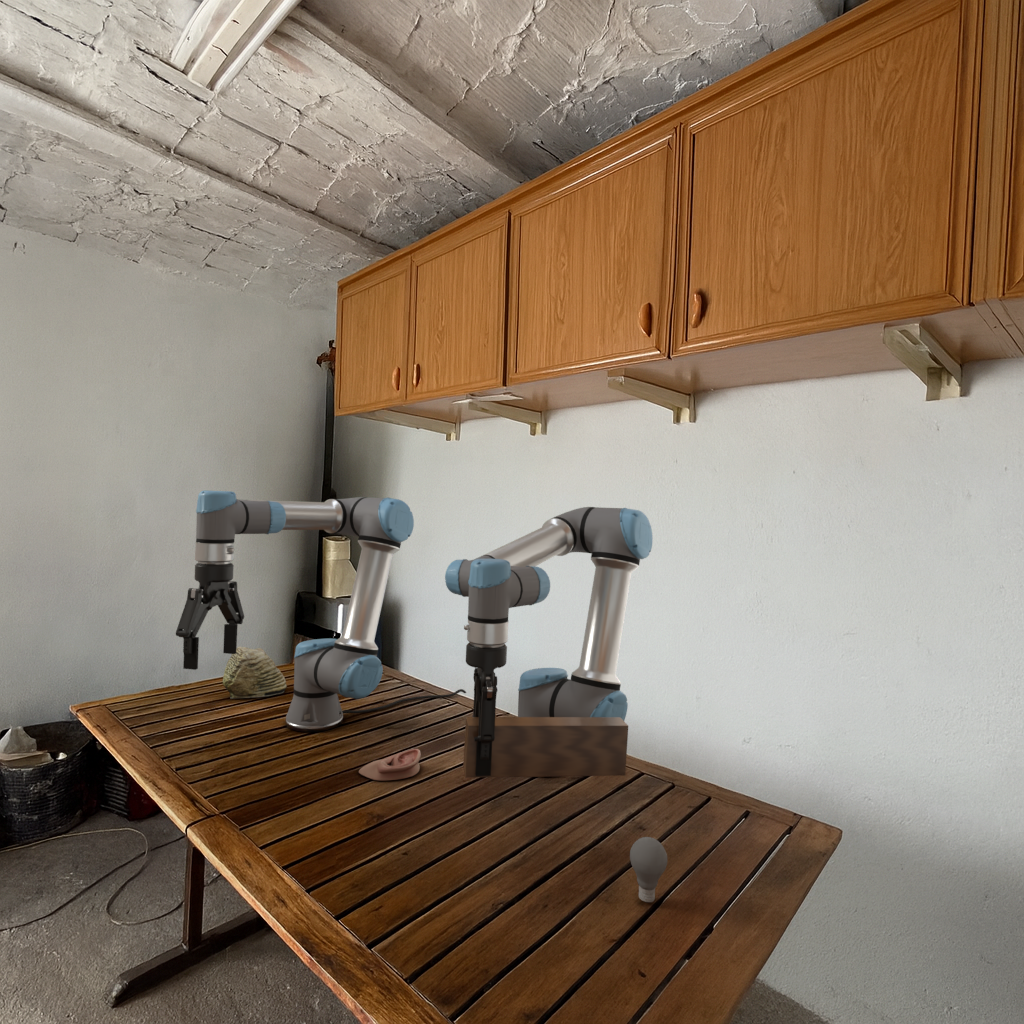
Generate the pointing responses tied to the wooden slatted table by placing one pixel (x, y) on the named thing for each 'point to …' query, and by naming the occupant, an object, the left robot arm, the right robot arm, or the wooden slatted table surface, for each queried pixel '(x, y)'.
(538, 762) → the bar
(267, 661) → the fossil
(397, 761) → the anatomical model
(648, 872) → the light bulb
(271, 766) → the wooden slatted table surface
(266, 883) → the wooden slatted table surface
